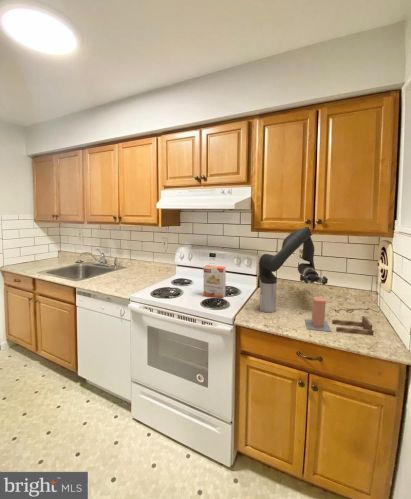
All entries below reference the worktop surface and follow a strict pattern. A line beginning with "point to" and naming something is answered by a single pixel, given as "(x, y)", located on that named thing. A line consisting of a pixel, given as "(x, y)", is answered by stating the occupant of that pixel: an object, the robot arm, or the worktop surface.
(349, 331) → the frame
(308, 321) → the mat
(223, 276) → the cracker box
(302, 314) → the worktop surface
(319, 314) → the red block
